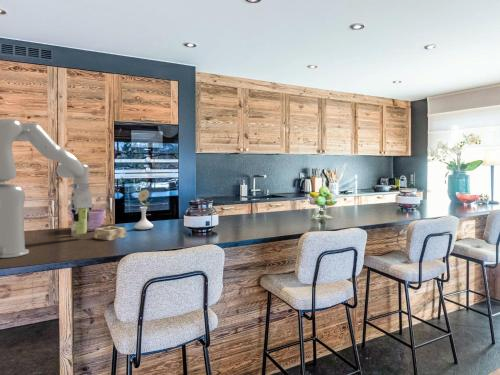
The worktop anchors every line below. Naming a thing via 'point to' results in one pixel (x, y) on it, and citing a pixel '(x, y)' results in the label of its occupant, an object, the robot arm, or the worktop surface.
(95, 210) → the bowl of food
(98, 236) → the collar block
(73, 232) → the short dowel
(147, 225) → the flower in vase
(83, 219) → the tube
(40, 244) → the worktop surface
